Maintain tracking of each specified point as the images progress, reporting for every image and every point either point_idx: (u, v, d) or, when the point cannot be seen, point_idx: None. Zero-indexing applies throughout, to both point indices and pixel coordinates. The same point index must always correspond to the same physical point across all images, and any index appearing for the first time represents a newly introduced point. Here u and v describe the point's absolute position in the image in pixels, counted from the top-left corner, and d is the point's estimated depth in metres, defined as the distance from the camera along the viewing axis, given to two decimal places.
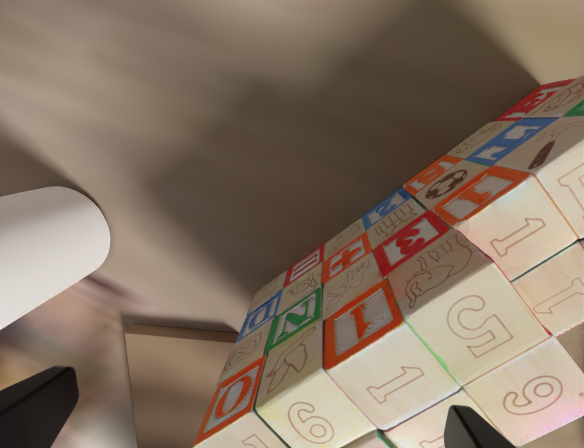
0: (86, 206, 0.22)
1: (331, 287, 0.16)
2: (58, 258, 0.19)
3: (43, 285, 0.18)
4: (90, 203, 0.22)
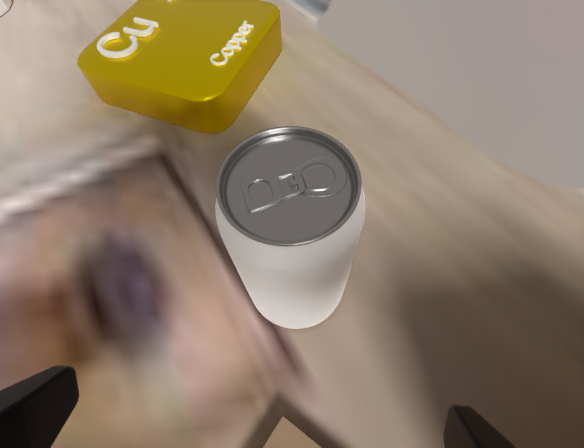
0: None
1: None
2: (345, 281, 0.18)
3: (333, 290, 0.17)
4: None
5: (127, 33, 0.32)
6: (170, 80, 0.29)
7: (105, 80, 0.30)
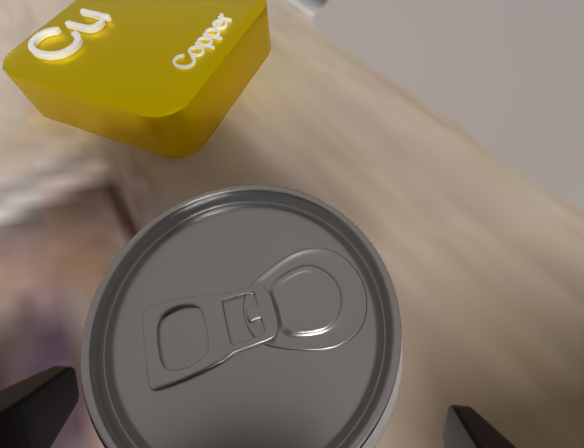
0: None
1: None
2: None
3: None
4: None
5: (70, 28, 0.25)
6: (118, 88, 0.22)
7: (37, 88, 0.23)
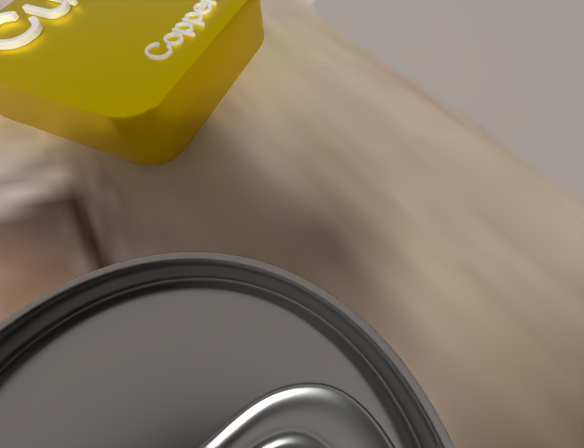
0: None
1: None
2: None
3: None
4: None
5: (29, 13, 0.21)
6: (78, 83, 0.18)
7: None
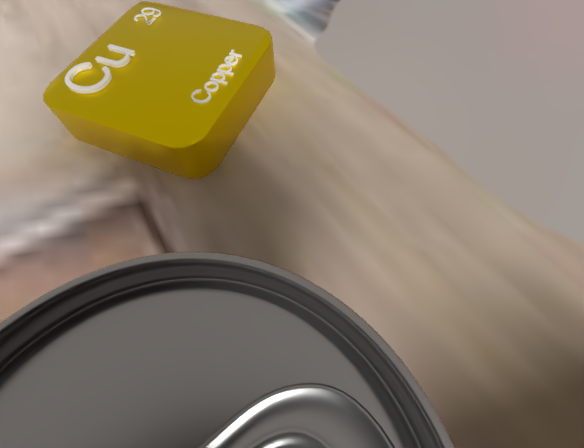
0: None
1: None
2: None
3: None
4: None
5: (100, 63, 0.28)
6: (145, 121, 0.25)
7: (73, 118, 0.27)
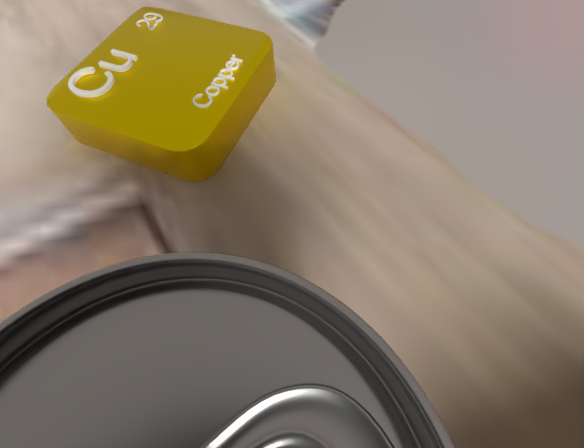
0: None
1: None
2: None
3: None
4: None
5: (103, 68, 0.29)
6: (147, 125, 0.25)
7: (76, 122, 0.27)
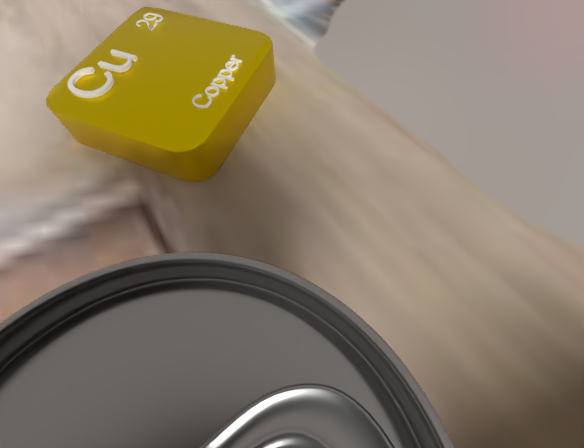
0: None
1: None
2: None
3: None
4: None
5: (102, 68, 0.29)
6: (146, 125, 0.25)
7: (76, 122, 0.27)
